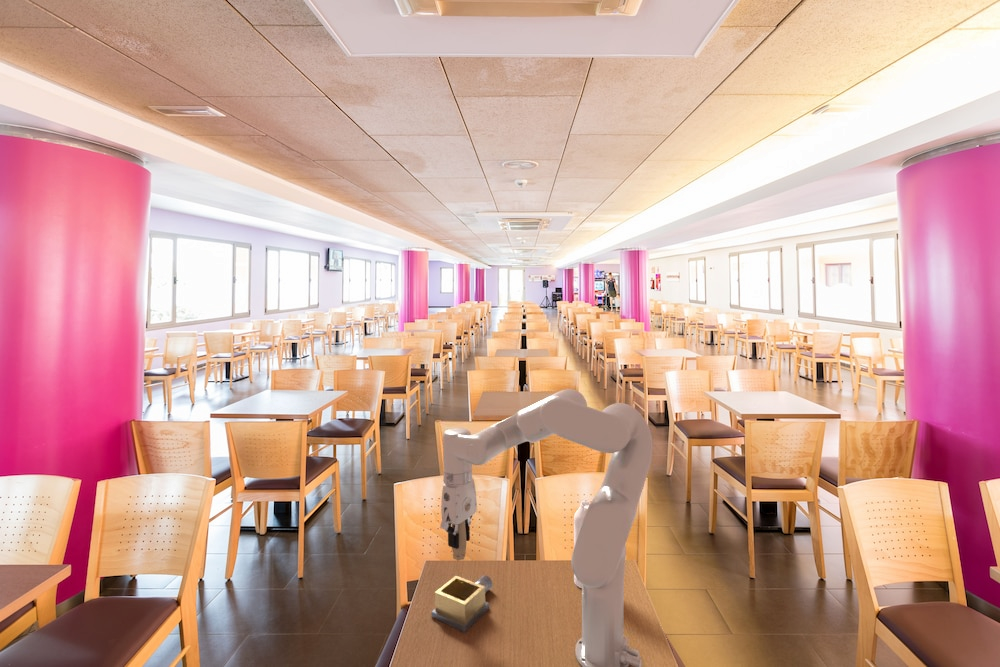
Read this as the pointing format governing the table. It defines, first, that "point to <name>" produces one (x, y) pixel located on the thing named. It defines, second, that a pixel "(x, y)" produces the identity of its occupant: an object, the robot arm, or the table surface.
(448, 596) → the socket
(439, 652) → the table surface
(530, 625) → the table surface
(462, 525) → the handle
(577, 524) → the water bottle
